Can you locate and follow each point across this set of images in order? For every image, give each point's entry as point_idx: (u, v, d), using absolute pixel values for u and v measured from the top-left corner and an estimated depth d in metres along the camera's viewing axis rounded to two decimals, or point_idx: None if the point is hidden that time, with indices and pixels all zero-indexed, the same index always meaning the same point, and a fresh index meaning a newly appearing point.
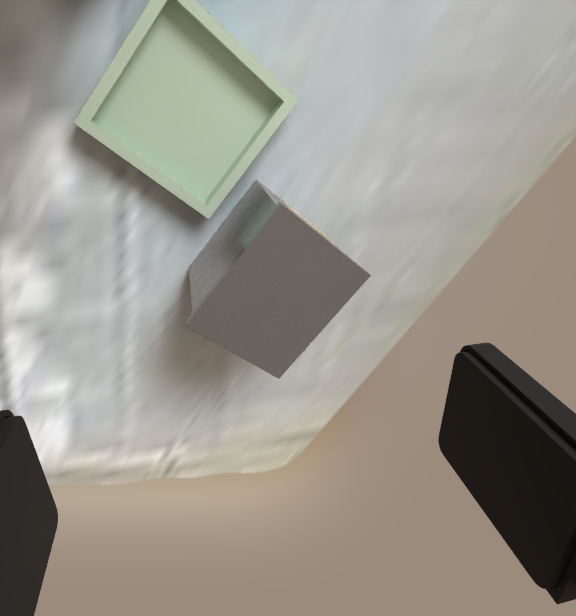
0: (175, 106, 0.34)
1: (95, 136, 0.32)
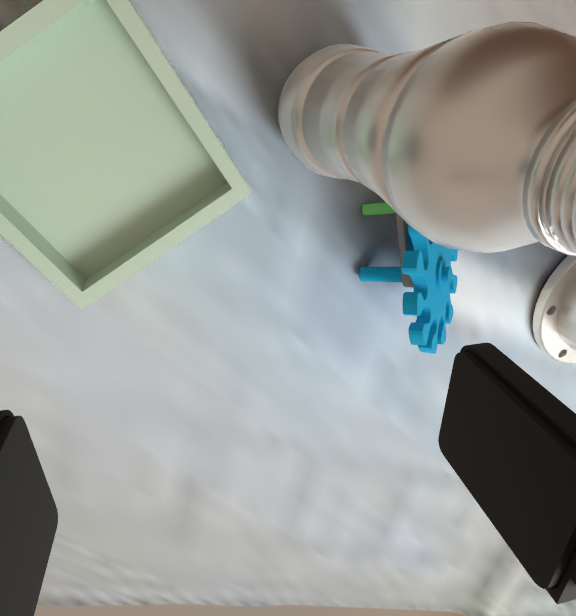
0: (101, 136, 0.23)
1: None
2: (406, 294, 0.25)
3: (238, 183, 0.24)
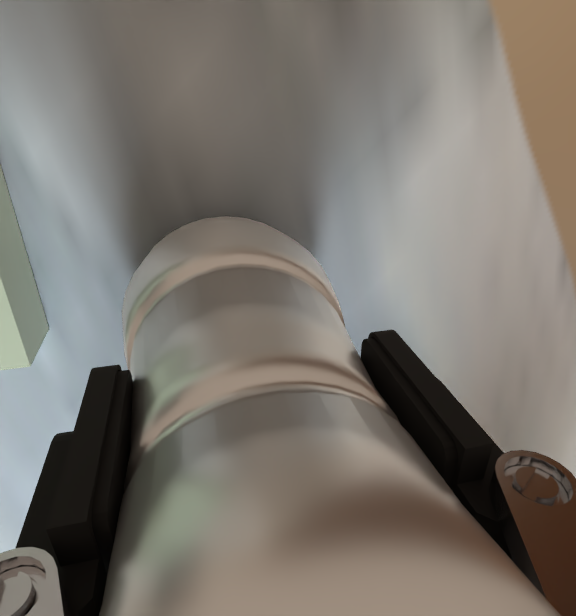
0: None
1: None
2: None
3: (8, 343, 0.13)
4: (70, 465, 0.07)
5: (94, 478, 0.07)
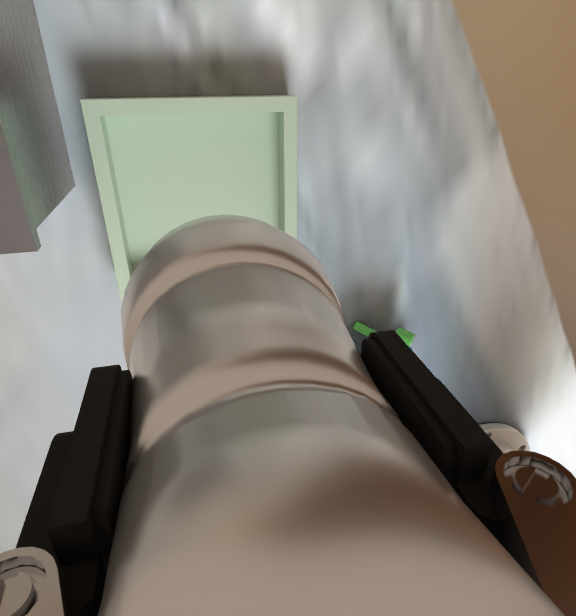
0: (216, 188, 0.28)
1: (270, 99, 0.25)
2: None
3: None
4: (70, 465, 0.07)
5: (95, 478, 0.07)
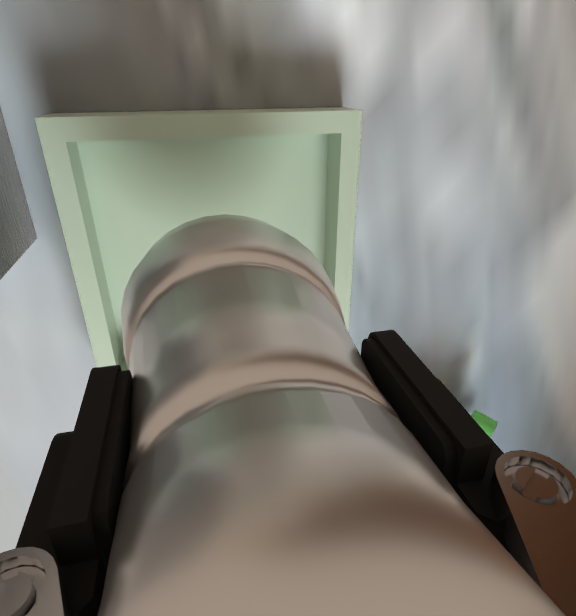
0: None
1: (322, 114, 0.17)
2: None
3: None
4: (70, 465, 0.07)
5: (94, 478, 0.07)
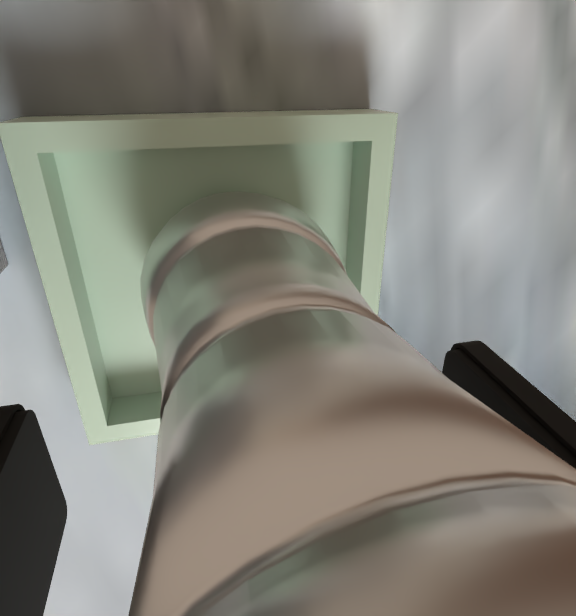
0: None
1: (350, 118, 0.14)
2: None
3: None
4: None
5: None
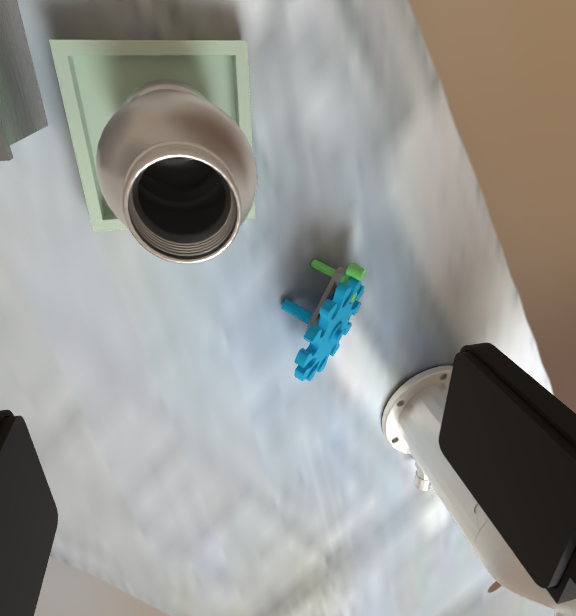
0: None
1: (222, 42, 0.28)
2: (313, 325, 0.34)
3: None
4: None
5: None
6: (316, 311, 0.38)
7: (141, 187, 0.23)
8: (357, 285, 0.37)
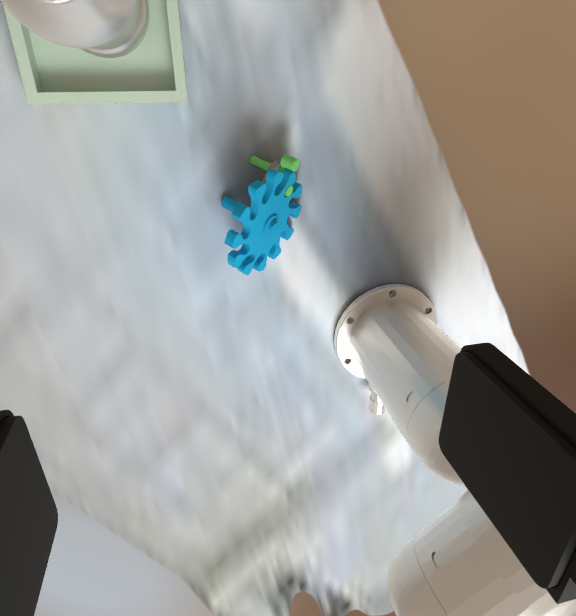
0: None
1: None
2: (241, 203, 0.35)
3: (181, 89, 0.34)
4: None
5: None
6: None
7: None
8: (291, 176, 0.38)
